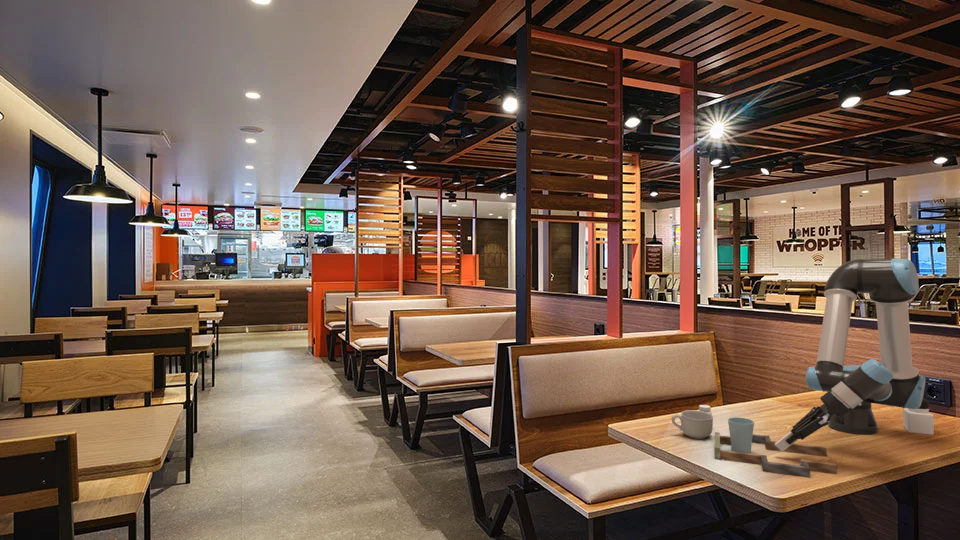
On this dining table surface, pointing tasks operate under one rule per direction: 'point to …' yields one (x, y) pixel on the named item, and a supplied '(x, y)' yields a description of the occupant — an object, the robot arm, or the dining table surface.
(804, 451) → the wooden zigzag frame
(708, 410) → the supplement bottle
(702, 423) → the teacup
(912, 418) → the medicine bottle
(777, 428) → the dining table surface
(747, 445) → the cup
